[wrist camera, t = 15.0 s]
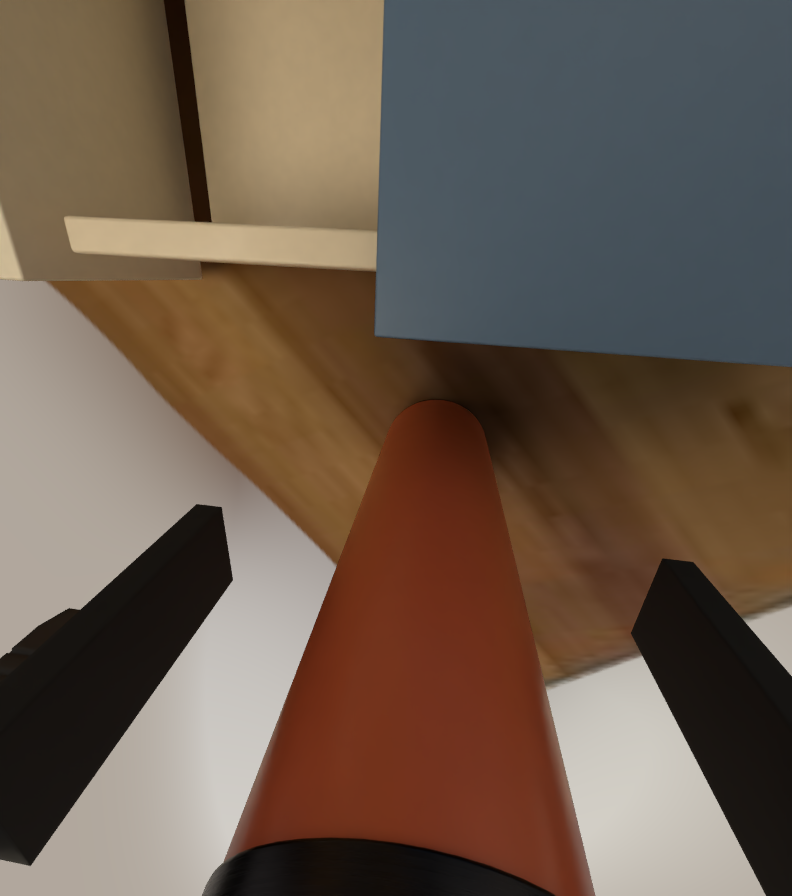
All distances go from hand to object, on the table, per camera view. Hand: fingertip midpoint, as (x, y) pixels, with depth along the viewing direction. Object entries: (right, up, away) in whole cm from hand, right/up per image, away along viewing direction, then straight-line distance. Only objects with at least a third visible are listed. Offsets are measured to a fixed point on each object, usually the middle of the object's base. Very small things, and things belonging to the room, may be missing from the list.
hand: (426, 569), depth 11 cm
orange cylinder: (+1, +4, +8) cm, 9 cm away
